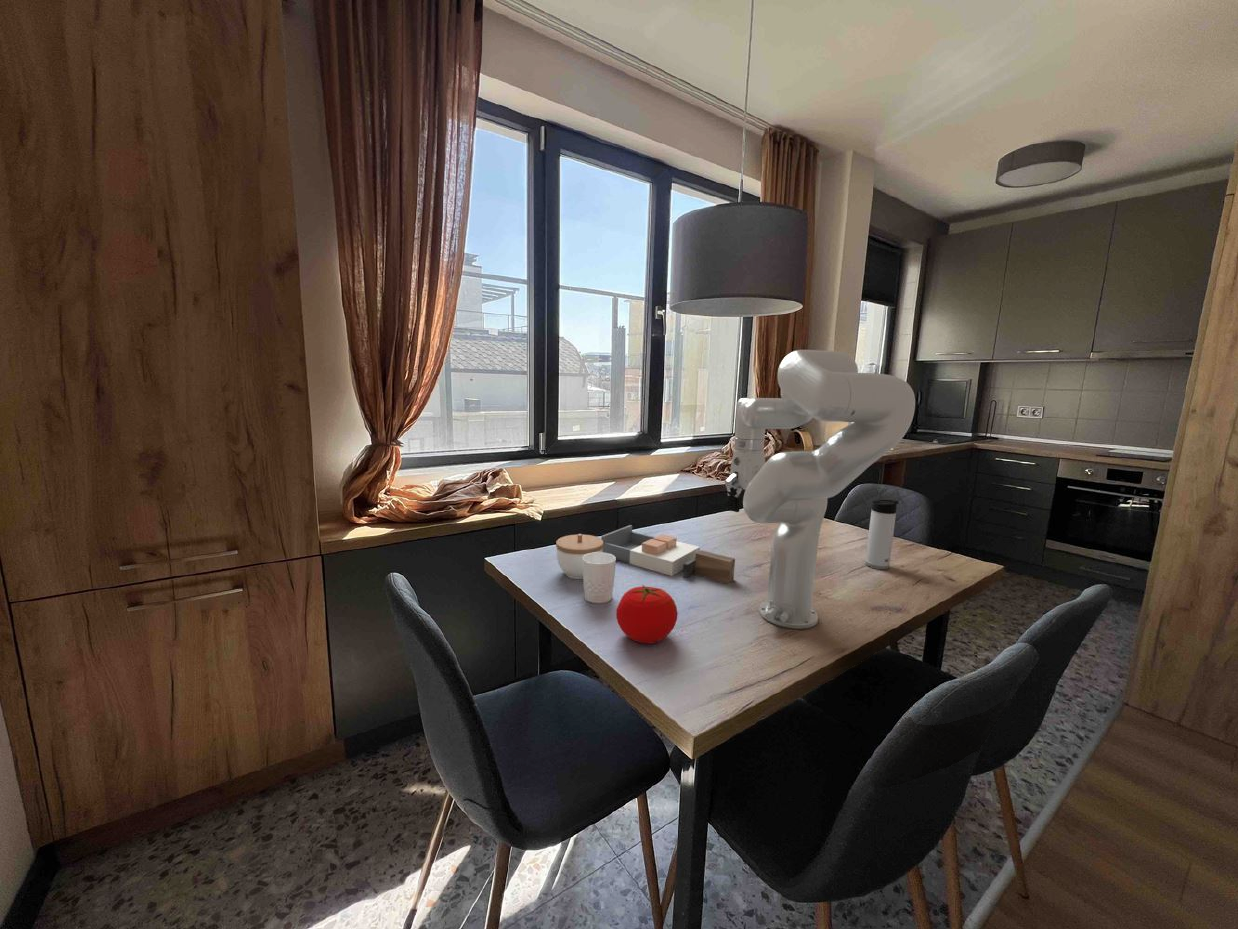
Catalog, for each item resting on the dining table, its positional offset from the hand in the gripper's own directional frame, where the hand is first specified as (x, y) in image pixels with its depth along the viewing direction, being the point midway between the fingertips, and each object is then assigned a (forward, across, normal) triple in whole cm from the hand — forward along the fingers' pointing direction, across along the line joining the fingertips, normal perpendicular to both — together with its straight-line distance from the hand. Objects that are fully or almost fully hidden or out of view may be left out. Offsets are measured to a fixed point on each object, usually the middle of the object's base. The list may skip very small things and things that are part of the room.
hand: (744, 508), depth 130 cm
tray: (+19, -13, +31) cm, 38 cm away
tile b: (+15, -8, +21) cm, 27 cm away
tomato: (+19, -44, -8) cm, 48 cm away
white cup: (+19, -40, +12) cm, 46 cm away
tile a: (+15, -14, +20) cm, 28 cm away
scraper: (+19, -7, +3) cm, 20 cm away
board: (+19, -10, +19) cm, 28 cm away
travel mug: (+19, +38, -21) cm, 48 cm away
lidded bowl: (+19, -35, +27) cm, 48 cm away
